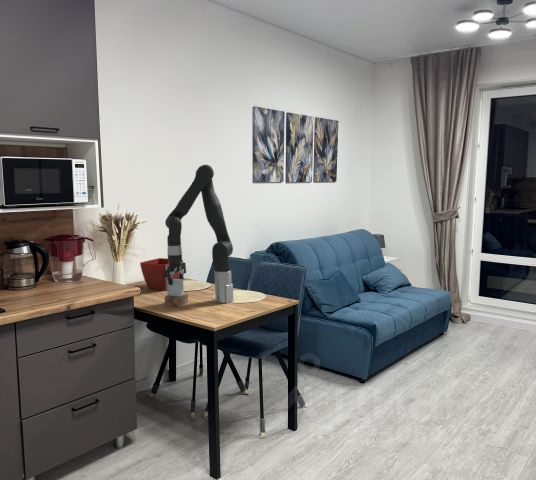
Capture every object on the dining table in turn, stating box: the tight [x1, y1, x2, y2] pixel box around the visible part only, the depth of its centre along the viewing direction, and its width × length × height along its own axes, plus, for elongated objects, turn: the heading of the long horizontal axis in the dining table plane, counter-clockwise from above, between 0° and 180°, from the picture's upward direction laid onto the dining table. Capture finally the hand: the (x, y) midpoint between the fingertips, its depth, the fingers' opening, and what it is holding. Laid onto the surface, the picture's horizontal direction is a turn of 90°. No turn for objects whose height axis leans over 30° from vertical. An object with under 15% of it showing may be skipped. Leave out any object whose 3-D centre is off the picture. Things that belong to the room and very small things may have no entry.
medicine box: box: [166, 279, 185, 297], centre depth 263 cm, size 8×4×9 cm, turn 72°
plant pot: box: [139, 257, 184, 291], centre depth 301 cm, size 19×19×17 cm
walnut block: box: [164, 293, 189, 308], centre depth 264 cm, size 9×9×5 cm
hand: (176, 283), depth 263 cm, fingers open, 8 cm apart
